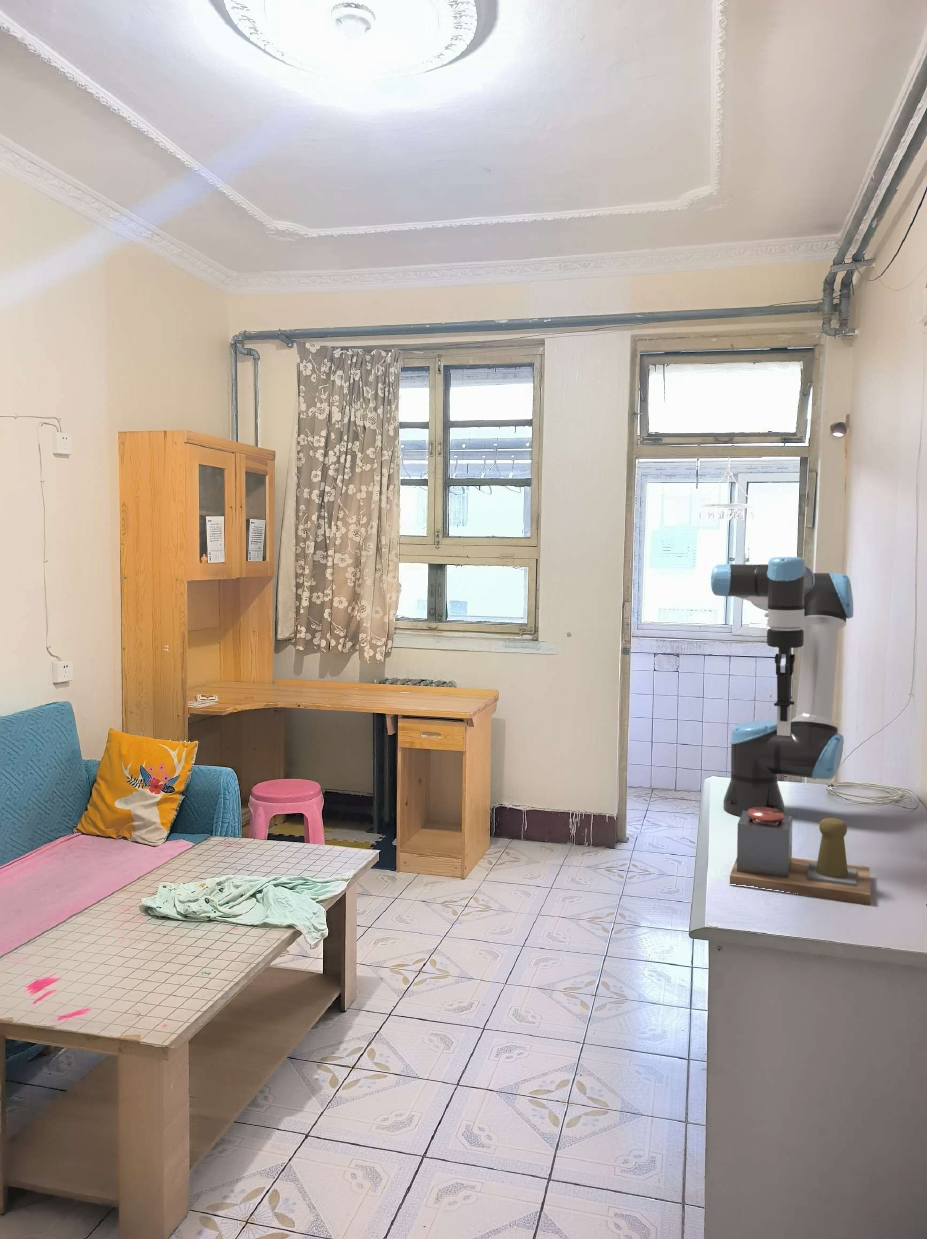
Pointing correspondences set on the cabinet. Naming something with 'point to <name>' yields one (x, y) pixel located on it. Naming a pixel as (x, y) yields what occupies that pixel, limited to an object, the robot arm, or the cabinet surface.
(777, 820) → the press plunger
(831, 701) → the robot arm
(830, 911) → the cabinet surface
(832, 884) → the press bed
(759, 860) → the grey push button box
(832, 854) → the olive knobbed peg
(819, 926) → the cabinet surface
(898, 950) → the cabinet surface
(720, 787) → the cabinet surface
